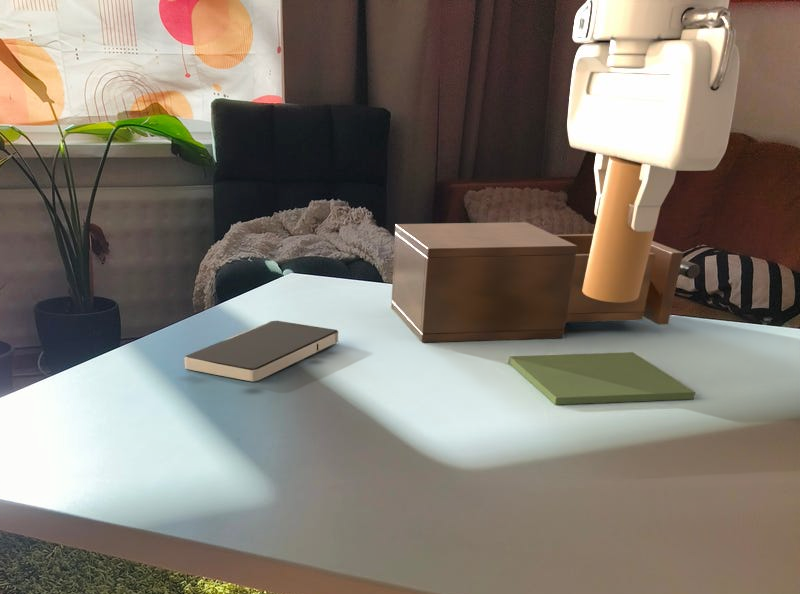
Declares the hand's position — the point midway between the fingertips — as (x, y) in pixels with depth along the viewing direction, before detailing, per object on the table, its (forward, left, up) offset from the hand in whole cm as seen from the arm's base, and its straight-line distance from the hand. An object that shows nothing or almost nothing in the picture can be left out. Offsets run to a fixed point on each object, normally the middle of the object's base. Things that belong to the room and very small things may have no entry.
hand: (622, 224), depth 71 cm
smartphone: (+28, -11, -13) cm, 33 cm away
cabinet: (+5, -21, -13) cm, 25 cm away
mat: (0, 0, -13) cm, 13 cm away
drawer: (-9, -21, -12) cm, 26 cm away
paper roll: (0, -1, -5) cm, 5 cm away
